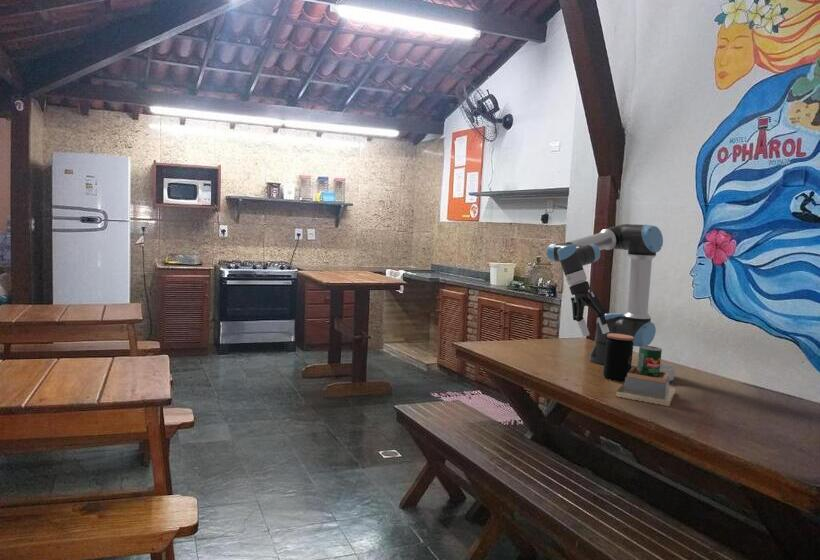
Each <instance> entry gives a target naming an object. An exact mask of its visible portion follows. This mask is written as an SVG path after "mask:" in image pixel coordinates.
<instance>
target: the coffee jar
mask: <svg viewBox="0 0 820 560" xmlns="http://www.w3.org/2000/svg"><path fill="white" fill-rule="evenodd" d="M607 337H608V339H607V340H606V350H605V360H604V364H603V372H602V375H603V377H604V378H605V379H606V378H607V380H609V379H611V380H610V381H613V380H616V381H615V382H625V377H626V376H627V373H628V372H629V371H630V369H631V366H632V362H633V361H632V360H633V354H634V352H633V351H634V346H633V342H632V341H633V340H634V337H633V336H629V335H624V334H614V333H610V334H607Z"/></svg>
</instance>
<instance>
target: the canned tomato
mask: <svg viewBox="0 0 820 560" xmlns="http://www.w3.org/2000/svg"><path fill="white" fill-rule="evenodd" d="M638 348H639V350H638V357H637V358H638V359H637V365H636V366H637V374H640V375H646V376H653V377H659V371H660V364H661V360H662V351H663V348H661V347H658V346H651V345H648V346H639V347H638Z"/></svg>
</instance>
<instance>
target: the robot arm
mask: <svg viewBox="0 0 820 560" xmlns="http://www.w3.org/2000/svg"><path fill="white" fill-rule="evenodd" d="M663 244H664V238H663V234H662V231H661V229H659V227H658V226H656V225H652V224H629V223H625V224H618V225H615V226H611V227H608V228H604V229H602V230H600V232H599V233H598V232H597V233H595V234H592V235H588V236H584V237H581V238H578V239H577V238H576V239H573V240H570V241H566V242H562V243H557V242H555V243H550V244H549V245H548V247H547V248H546V257H547V259H548V260H550V261H551V262H552V261H553V262H555V263H557V262H558V263H560V266H561V267H562V271H563V273H564V276H565V278H566V282H567V284H568V286H569V291H570V293H571V295H572V296H573V297H571V298H570V301H571V307H572V319H573V321H576V322H577V323H578V326H579V329H580V332H581V335H582V336H583V338H584V337H588V336H591V334H590V331H589V328H588V325H587V323H586V321H585V318H584V311H585V307H588V308H590V310H592V312H593V313H594V314H595V315H596V325H595V327H596V329H595V337H594V345H593V348H592V350H591V352H590V354H589V359H588V360H589V361H590V362H592V363H596V364H599V365H604V360H605V350H606V340H607V339H608V337H607V334H610V333H614V334H624V335H629V336H633V337H634V340H633V341H632V342H633V347H638V348H640V347H639V346H650V344H652V342H653V341H654V339H655V336H656V329H657V328H656V325H655V323H653V322H652V321H651V319H652V318H651V315H649V302H650V301H649V299H650V289H651V288H650V286H651V274H652V262H653V259H654V258H655V257H657V253H659V252H660V251H661V249H662V247H663ZM614 249H615V250H623V251H624V250H625V251H627V256H629V257H630V268H629V269H630V272H629V281H628V282H629V283H628V295H627V309H626V312H624V314H623V313H608V310H607V309H606V308H605V306H604V304H602V302H601V301H600V299H599V298H598V296H597V294H596V292H595V291H591V292H590V290H591V285H590V284H589V281H588V280H587V279H588V278H587V275H586V272H585V270H584V266H586V265H590V264H591V265H592V264H594V263H595V262H597V261H598V260H600V258H601V251H603V250H605V251H610V250H614Z"/></svg>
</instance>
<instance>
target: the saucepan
mask: <svg viewBox="0 0 820 560" xmlns="http://www.w3.org/2000/svg"><path fill="white" fill-rule="evenodd" d="M637 366H638V365H631V368H632V367H636V368H637ZM675 370H676V367H674V366H672V365H667V364H661V363H660V371H661V372H668V373H669V377H670V381H669V382H671V381H674V378H675Z"/></svg>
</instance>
